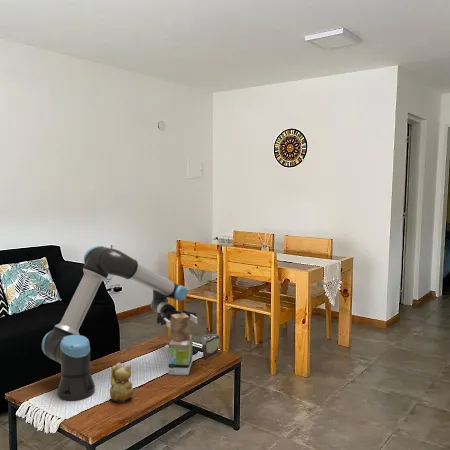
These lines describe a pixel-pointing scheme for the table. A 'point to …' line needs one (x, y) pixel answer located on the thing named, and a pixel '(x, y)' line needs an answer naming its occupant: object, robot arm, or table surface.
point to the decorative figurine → (121, 383)
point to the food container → (210, 345)
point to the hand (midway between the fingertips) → (183, 322)
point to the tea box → (180, 357)
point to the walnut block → (180, 327)
